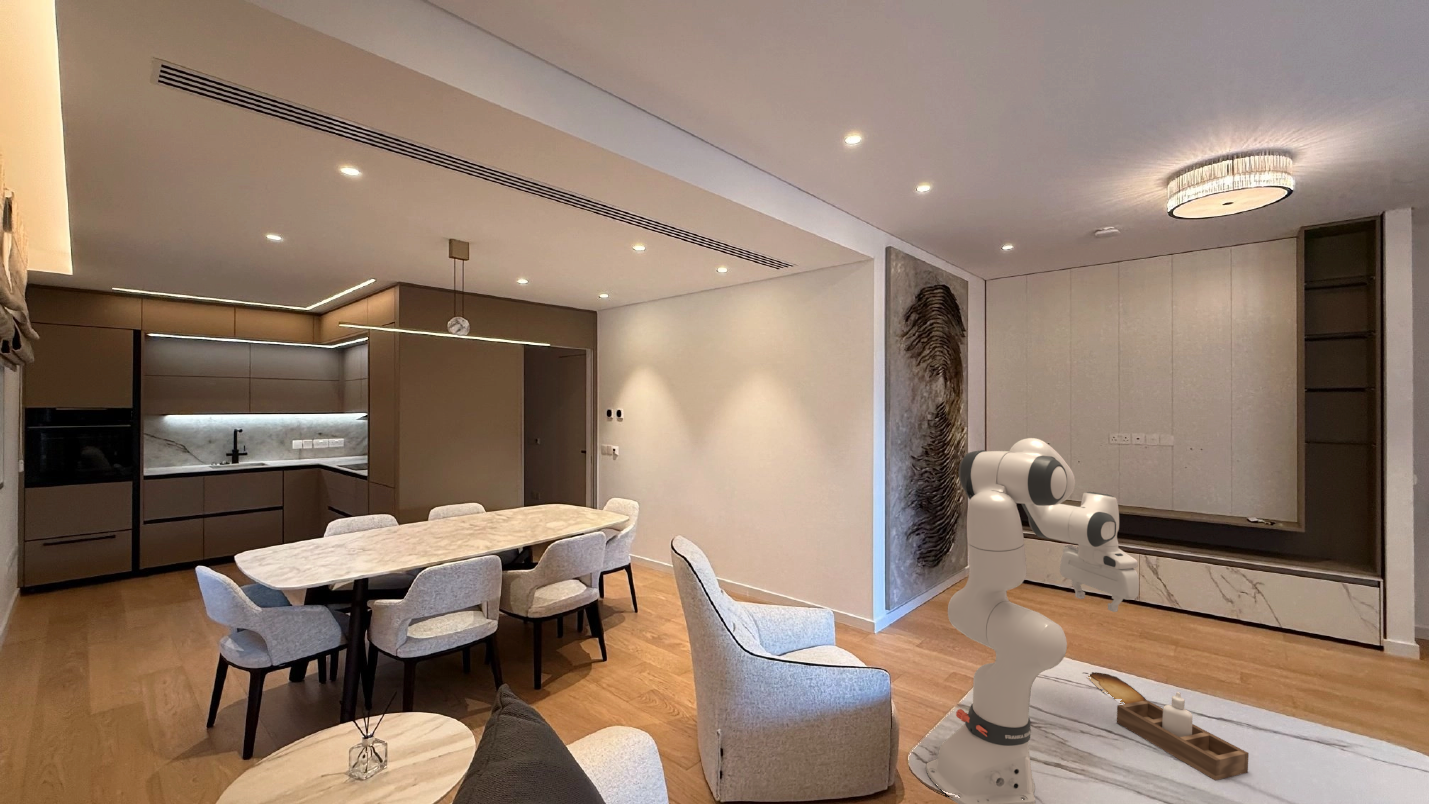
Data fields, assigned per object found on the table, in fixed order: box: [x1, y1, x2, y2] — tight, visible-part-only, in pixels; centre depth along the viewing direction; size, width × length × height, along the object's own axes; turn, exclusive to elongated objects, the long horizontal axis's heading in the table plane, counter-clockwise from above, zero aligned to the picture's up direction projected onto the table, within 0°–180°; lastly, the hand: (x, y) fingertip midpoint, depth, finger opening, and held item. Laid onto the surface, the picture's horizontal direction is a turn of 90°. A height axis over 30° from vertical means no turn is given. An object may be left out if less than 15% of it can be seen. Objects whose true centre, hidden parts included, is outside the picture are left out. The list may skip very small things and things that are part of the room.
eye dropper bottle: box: [1162, 691, 1193, 737], centre depth 139 cm, size 4×6×12 cm
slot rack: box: [1116, 699, 1250, 781], centre depth 139 cm, size 10×23×4 cm, turn 17°
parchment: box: [1082, 671, 1147, 705], centre depth 163 cm, size 25×10×1 cm, turn 173°
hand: (1095, 604), depth 153 cm, fingers open, 8 cm apart
